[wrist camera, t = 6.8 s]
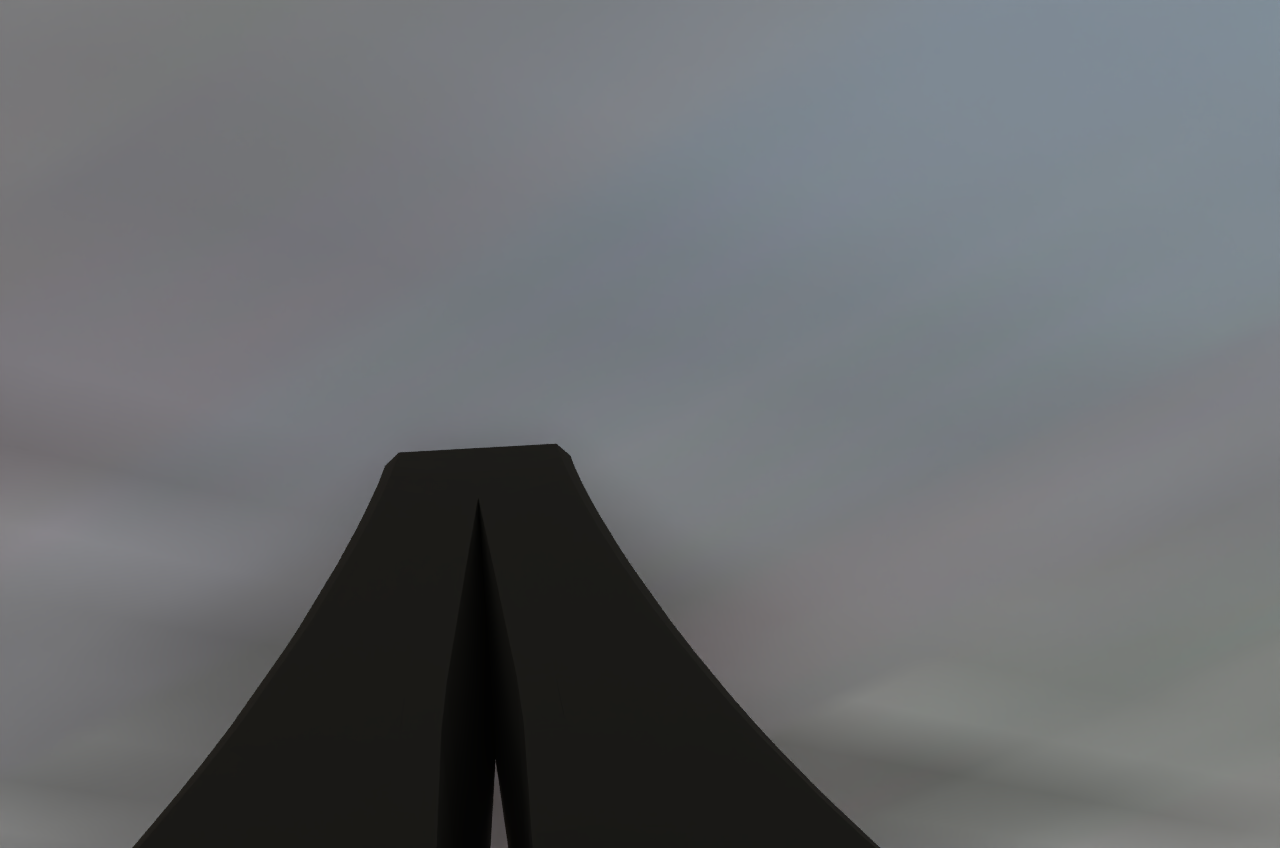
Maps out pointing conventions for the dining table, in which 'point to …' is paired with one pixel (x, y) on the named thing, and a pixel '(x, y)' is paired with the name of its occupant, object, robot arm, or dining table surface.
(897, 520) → the dining table surface
